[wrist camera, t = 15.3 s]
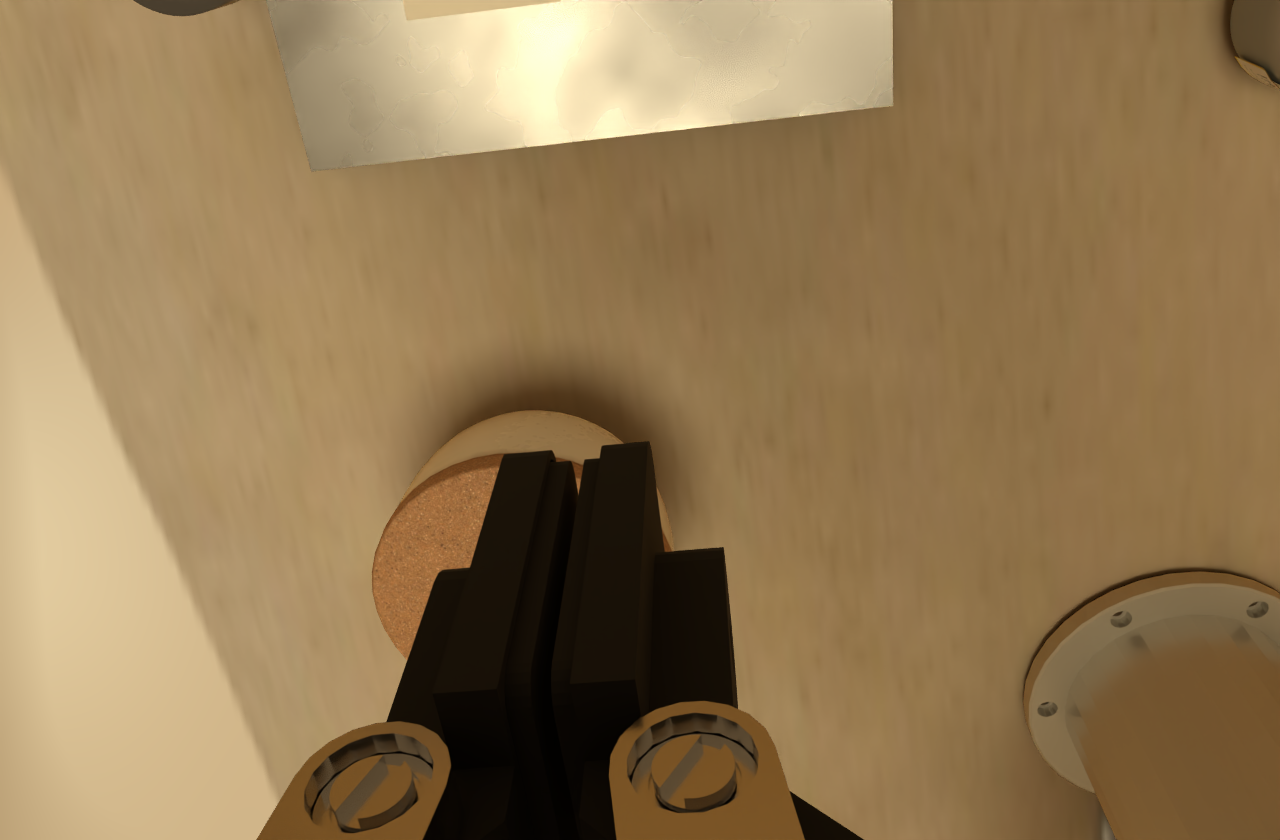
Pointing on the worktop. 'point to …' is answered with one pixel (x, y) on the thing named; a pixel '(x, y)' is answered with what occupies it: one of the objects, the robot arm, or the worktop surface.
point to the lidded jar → (466, 507)
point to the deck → (568, 71)
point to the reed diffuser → (1257, 38)
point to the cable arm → (183, 6)
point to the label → (460, 6)
